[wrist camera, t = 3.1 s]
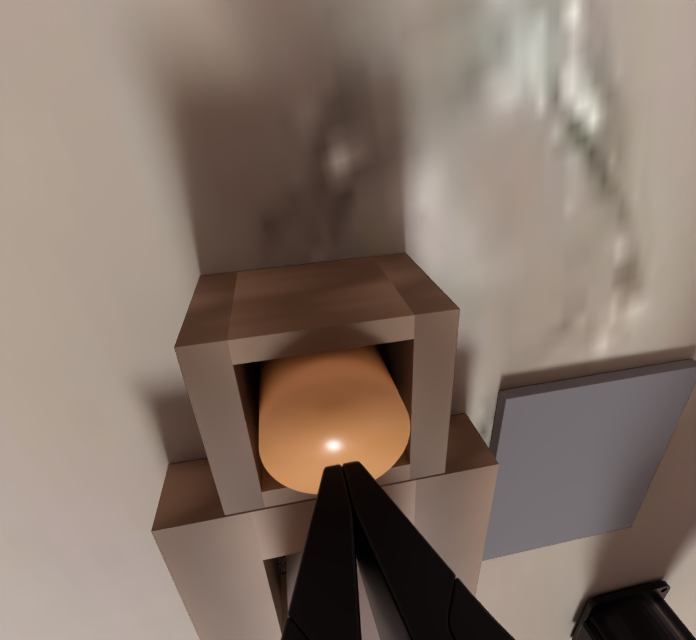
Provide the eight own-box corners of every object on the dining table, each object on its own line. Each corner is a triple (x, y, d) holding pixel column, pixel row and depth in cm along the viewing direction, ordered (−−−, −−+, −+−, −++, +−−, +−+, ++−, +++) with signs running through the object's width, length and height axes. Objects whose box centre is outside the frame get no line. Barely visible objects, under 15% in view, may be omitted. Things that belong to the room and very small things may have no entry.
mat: (691, 358, 20) (703, 365, 19) (623, 518, 25) (630, 527, 25) (499, 390, 18) (506, 399, 18) (473, 551, 24) (477, 561, 23)
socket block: (485, 243, 15) (566, 294, 11) (447, 567, 24) (483, 656, 20) (102, 286, 13) (32, 366, 9) (225, 617, 22) (217, 726, 18)
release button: (373, 299, 13) (412, 367, 10) (375, 394, 15) (408, 479, 12) (250, 314, 13) (246, 392, 9) (268, 411, 15) (270, 506, 11)
